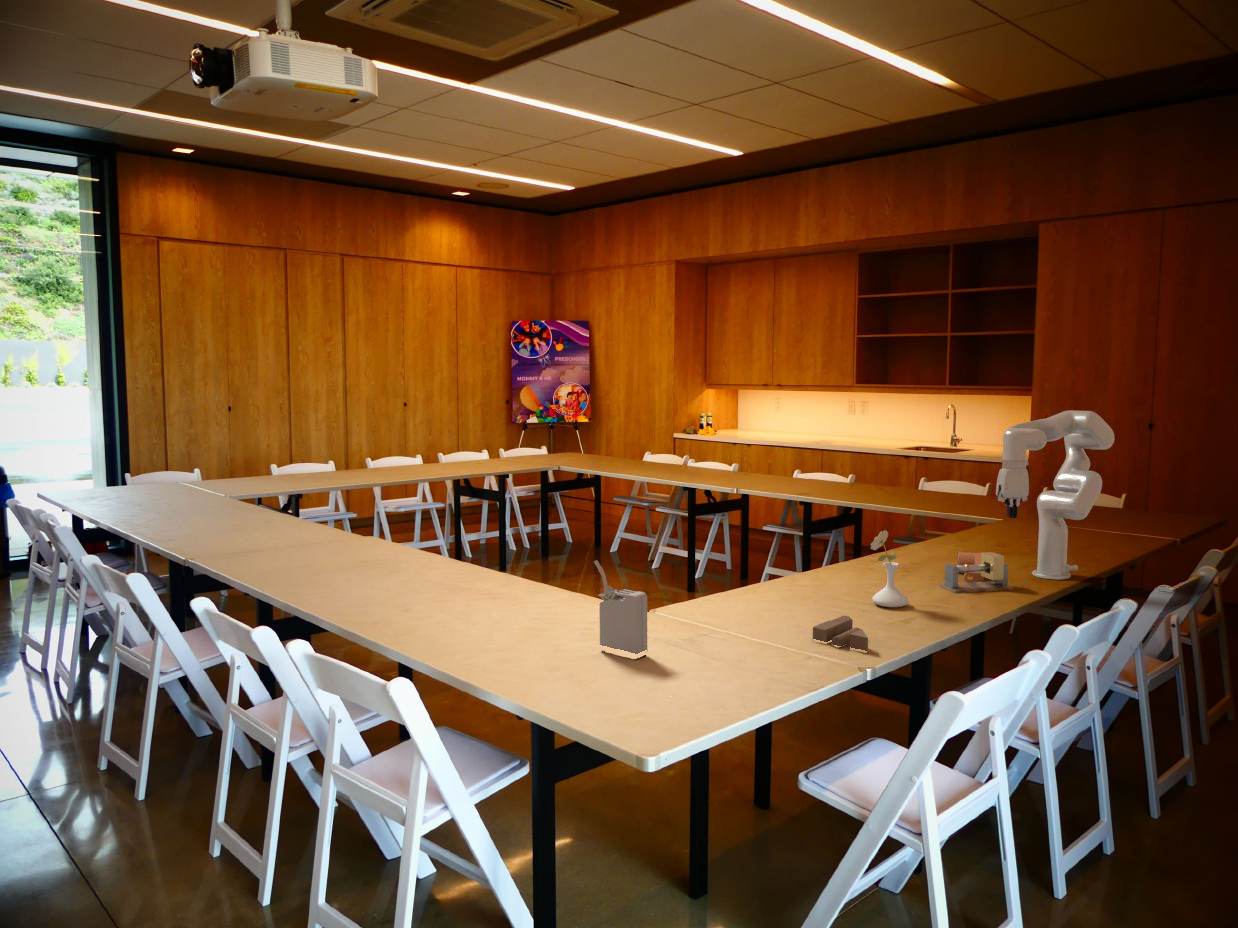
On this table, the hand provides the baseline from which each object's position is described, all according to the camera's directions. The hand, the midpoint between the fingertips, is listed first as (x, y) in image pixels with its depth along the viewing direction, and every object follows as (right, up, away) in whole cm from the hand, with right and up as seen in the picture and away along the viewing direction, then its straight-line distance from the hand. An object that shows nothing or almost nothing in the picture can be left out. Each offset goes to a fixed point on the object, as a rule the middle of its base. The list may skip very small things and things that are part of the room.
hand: (1011, 517), depth 305 cm
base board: (-12, -25, 0) cm, 28 cm away
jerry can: (-137, -33, -67) cm, 156 cm away
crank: (-8, -23, +17) cm, 30 cm away
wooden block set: (-71, -32, -58) cm, 97 cm away
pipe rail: (-12, -25, 0) cm, 28 cm away
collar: (-7, -21, +1) cm, 22 cm away
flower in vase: (-50, -27, -22) cm, 61 cm away
